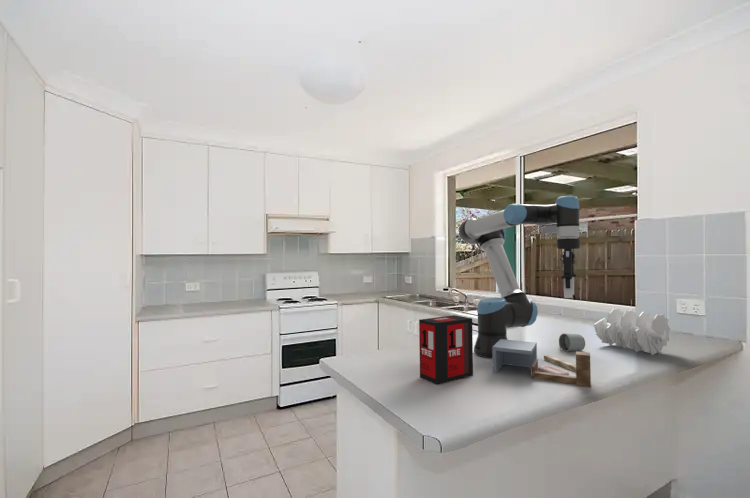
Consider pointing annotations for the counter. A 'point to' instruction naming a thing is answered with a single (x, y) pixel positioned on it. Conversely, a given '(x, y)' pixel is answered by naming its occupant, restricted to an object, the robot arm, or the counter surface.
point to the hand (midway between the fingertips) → (569, 295)
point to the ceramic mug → (571, 342)
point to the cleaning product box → (446, 348)
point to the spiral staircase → (634, 330)
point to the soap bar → (552, 370)
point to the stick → (560, 362)
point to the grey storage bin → (513, 353)
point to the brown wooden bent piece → (580, 379)
